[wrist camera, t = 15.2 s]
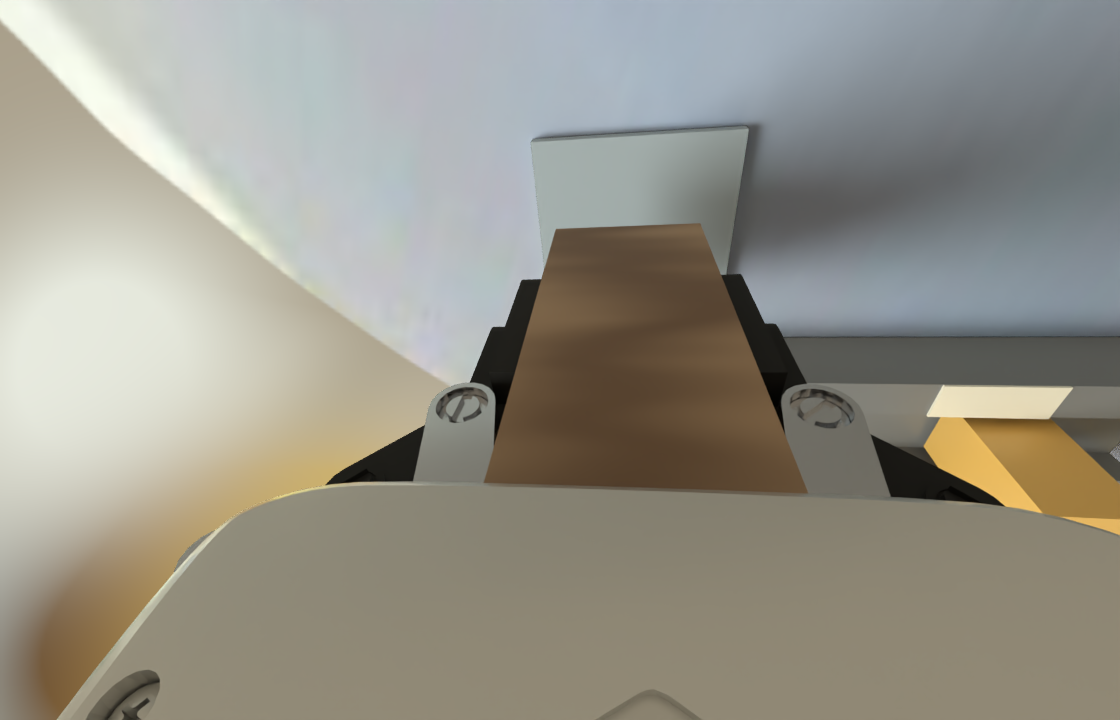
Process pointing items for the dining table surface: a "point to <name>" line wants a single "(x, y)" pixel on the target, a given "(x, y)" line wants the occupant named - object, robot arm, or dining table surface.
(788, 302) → the dining table surface
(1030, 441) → the switch tab
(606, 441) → the wooden block
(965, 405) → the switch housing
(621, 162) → the mat
